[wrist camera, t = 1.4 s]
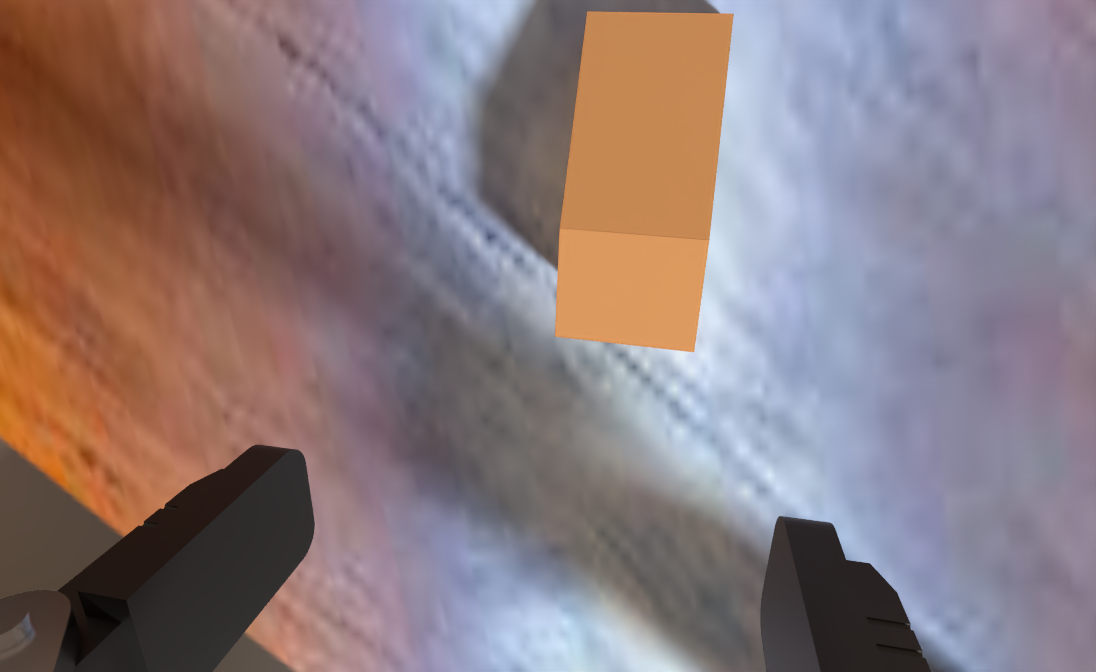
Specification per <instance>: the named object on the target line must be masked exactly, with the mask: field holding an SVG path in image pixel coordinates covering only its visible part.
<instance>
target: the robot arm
mask: <svg viewBox="0 0 1096 672" xmlns="http://www.w3.org/2000/svg"><path fill="white" fill-rule="evenodd" d="M314 525H315V523H314V515H313V508H312V501H311V495H310V488H309V481H308V474H307V468H306V462H305V458H304V456H303V454H302V453H301V452H300V451H299V450H295V449H287V448H280V447H272V446H265V445H254V446H252V447H250V448H249V449H248V450H246V451H245V452H244V453H243V454H242V455H240V456H239V457H238V458H237V459H236V460H234V461H233V462H232V463H231V464H229V465H228V466H227V467H226V468H225V469H221V470H218V471H216V472H214V473H212V474H210V475H208V476H206V477H204V478H202V479H200V480H198V481H196V482H194V483H192V484H190V485H189V486H187V487H186V488H185V489H184V490H182V491H181V492H180V493H179V494H177V495H176V496H175V497H174V498H172V499H171V500H170V501H169V502H167V503H166V504H165V507H164V509H159V510H158V511H156V512H155V513H154V514H153V515H151V516H150V517H149V518H148V519H146V520H145V521H144V525H143V526H138V527H136V528H135V529H134V530H133V531H131V532H130V533H129V534H128V535H126V536H125V537H124V538H123V539H121V540H120V541H119V542H118V543H116V544H115V545H114V546H113V547H111V548H110V549H109V550H108V551H107V552H105V553H104V554H103V555H101V556H100V557H99V558H98V559H97V560H95V561H94V562H93V563H92V564H90V565H89V566H88V567H86V568H85V569H84V570H83V571H82V572H81V573H79V574H78V575H77V576H75V577H74V578H73V579H72V580H70V581H69V582H68V583H67V584H65V585H64V586H63V587H62V588H60V589H59V590H58V591H51V590H33V591H27V592H22V593H18V594H14V595H11V596H7V597H4V598H2V599H0V672H213V670H214V669H215V668H216V667H217V665H218V664H219V663H220V662H221V660H222V659H223V658H224V657H225V655H226V654H227V653H228V652H229V651H230V649H231V648H232V647H233V645H234V644H235V643H236V642H237V641H238V639H239V638H240V637H241V636H242V634H243V633H244V632H245V631H246V629H247V628H248V627H249V626H250V624H251V623H252V622H253V621H254V620H255V618H256V617H257V616H258V615H259V613H260V612H261V611H262V610H263V608H264V607H265V606H266V605H267V603H268V602H269V601H270V600H271V598H272V597H273V596H274V595H275V593H276V592H277V591H278V590H279V588H280V587H281V586H282V585H283V584H284V582H285V581H286V580H287V579H288V577H289V576H290V575H291V574H292V572H293V571H294V570H295V569H296V567H297V566H298V565H299V564H300V562H301V561H302V560H303V559H304V557H305V556H306V554H307V552H308V550H309V548H310V545H311V542H312V539H313V535H314ZM761 636H762V643H763V650H764V656H765V663H766V670H767V672H931V670H930V668H929V666H928V664H927V661H926V659H925V658H923V657H922V650H921V647H920V645H919V643H918V640H917V638H916V636H915V633H914V631H913V630H911V629H910V622H909V620H908V617H907V615H906V613H905V610H904V608H903V606H902V603H901V601H900V599H899V596H898V594H897V592H896V591H895V590H894V589H893V588H892V587H891V586H890V585H889V583H888V582H887V581H886V580H885V579H884V578H883V577H882V576H881V575H880V574H879V573H878V572H877V571H876V570H875V568H874V567H873V566H872V565H871V564H870V563H863V562H856V561H849V560H846V558H845V555H844V553H843V550H842V547H841V544H840V541H839V538H838V536H837V533H836V530H835V528H834V526H833V524H831V523H828V522H821V521H813V520H806V519H798V518H791V517H784V516H779V517H778V519H777V521H776V525H775V529H774V534H773V539H772V545H771V550H770V555H769V560H768V566H767V571H766V576H765V581H764V587H763V592H762V599H761Z"/></svg>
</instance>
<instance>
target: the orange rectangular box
mask: <svg viewBox="0 0 1096 672" xmlns="http://www.w3.org/2000/svg"><path fill="white" fill-rule="evenodd" d="M732 24H733V14H716V13H652V12H588V11H587V17H586V25H585V33H584V41H583V49H582V57H581V65H580V72H579V80H578V88H577V96H576V104H575V112H574V120H573V128H572V135H571V143H570V151H569V159H568V167H567V175H566V183H565V191H564V198H563V206H562V214H561V222H560V233H559V256H558V279H557V302H556V325H555V337H564V338H573V339H582V340H591V341H600V342H609V343H617V344H626V345H635V346H644V347H653V348H662V349H671V350H680V351H689V352H694V349H695V341H696V334H697V326H698V319H699V312H700V304H701V297H702V289H703V282H704V274H705V267H706V260H707V252H708V245H709V237H710V227H711V218H712V209H713V200H714V190H715V181H716V172H717V162H718V153H719V144H720V135H721V125H722V116H723V107H724V98H725V88H726V79H727V70H728V61H729V51H730V42H731V33H732Z"/></svg>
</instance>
